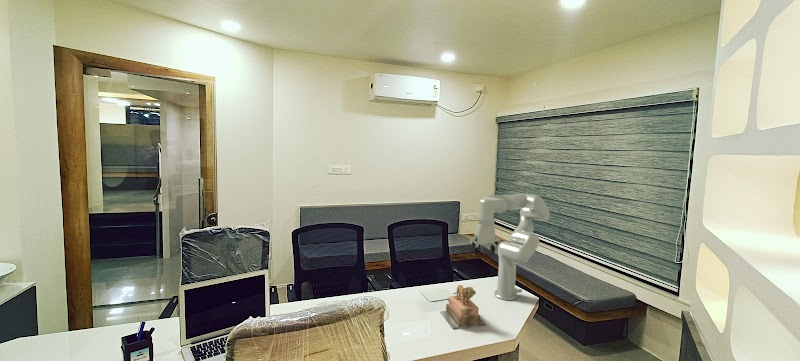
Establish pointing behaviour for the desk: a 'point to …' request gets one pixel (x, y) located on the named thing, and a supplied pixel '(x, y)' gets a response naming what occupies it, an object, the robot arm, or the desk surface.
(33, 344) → the desk surface
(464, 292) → the lion figurine
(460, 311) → the block tower
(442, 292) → the paper stack
